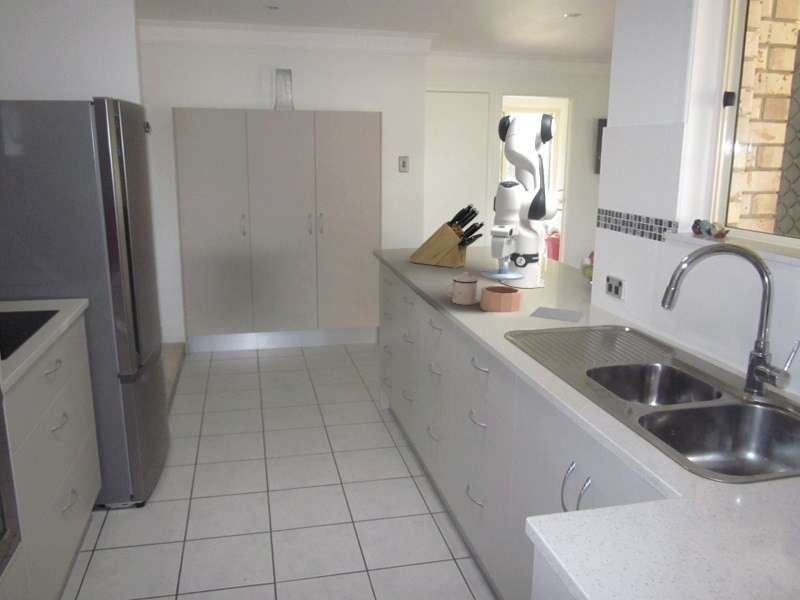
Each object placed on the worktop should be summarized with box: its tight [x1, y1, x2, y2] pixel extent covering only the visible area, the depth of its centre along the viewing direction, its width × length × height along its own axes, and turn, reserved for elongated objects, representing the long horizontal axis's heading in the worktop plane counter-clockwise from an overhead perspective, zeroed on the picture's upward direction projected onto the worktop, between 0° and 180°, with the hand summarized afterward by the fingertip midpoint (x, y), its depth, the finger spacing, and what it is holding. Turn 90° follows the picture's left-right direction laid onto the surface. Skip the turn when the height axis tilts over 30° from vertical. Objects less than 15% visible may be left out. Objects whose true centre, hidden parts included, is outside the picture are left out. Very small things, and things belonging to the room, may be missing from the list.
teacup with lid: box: [444, 270, 478, 306], centre depth 239 cm, size 12×9×12 cm
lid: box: [481, 261, 524, 281], centre depth 229 cm, size 15×15×5 cm
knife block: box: [409, 203, 486, 269], centre depth 316 cm, size 11×35×31 cm, turn 61°
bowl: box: [479, 285, 524, 313], centre depth 231 cm, size 14×14×7 cm
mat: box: [529, 306, 585, 323], centre depth 225 cm, size 16×16×1 cm
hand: (503, 268), depth 229 cm, fingers closed on lid, 3 cm apart
